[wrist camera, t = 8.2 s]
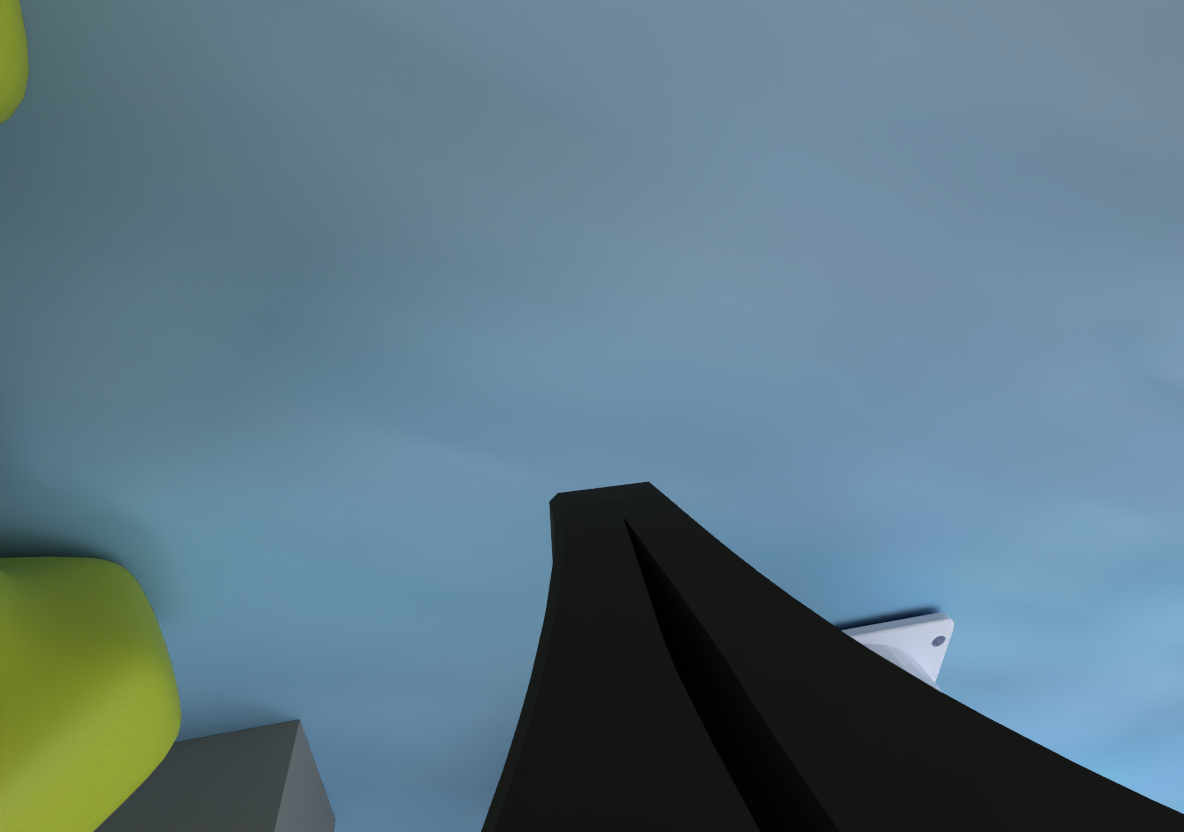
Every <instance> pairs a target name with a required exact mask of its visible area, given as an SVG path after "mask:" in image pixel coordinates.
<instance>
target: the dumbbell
mask: <svg viewBox="0 0 1184 832" xmlns="http://www.w3.org/2000/svg"><path fill="white" fill-rule="evenodd" d="M28 75H29V65H28V48H27V39H26V33H25V27H24V22H23V16H22V10H21V6H20V2H19V0H0V124H1V123H3V122H4V121H6V120H8V119H9V118H10V117H11V116H12V114H13V113H14V111H15V110H16V109H17V107H18V106H19V104H20V103H21V102H22V100H23V99H24V96H25V91H26V85H27V80H28ZM180 724H181V707H180V698H179V693H178V689H177V685H176V680H175V676H174V672H173V668H172V664H171V660H170V656H169V653H168V650H167V647H166V644H165V641H164V638H163V635H162V632H161V629H160V626H159V624H158V621H157V619H156V617H155V614H154V612H153V609H152V607H151V605H150V603H149V601H148V599H147V597H146V596H145V594H144V592H143V590H142V588H141V586H140V584H139V583H138V581H137V580H136V579H135V577H134V576H133V575H132V574H131V573H130V572H129V571H128V570H127V569H126V568H124V567H122V566H121V565H119V564H117V563H114V562H110V561H107V560H103V559H97V558H87V557H10V558H0V832H93V831H94V830H96V829H97V828H98V827H99V826H100V825H101V824H102V823H103V822H104V821H105V820H106V819H107V818H108V817H109V816H110V815H111V814H112V813H113V812H114V811H115V810H116V809H117V808H118V807H119V806H120V805H121V804H122V803H123V802H124V801H125V800H126V799H127V798H128V797H129V796H130V795H131V794H132V793H133V792H134V791H135V790H136V789H137V788H138V787H139V786H140V785H141V784H142V783H143V782H144V781H145V780H146V779H147V778H148V777H149V776H150V774H151V773H152V772H153V771H154V770H155V769H156V767H157V766H158V765H159V764H160V763H161V762H162V760H163V759H164V758H165V756H166V755H167V753H168V751H169V750H170V748H171V746H172V745H173V743H174V741H175V740H176V738H177V736H178V733H179V729H180Z"/></svg>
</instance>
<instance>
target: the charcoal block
mask: <svg viewBox="0 0 1184 832" xmlns="http://www.w3.org/2000/svg"><path fill="white" fill-rule="evenodd" d="M334 825H335V817H334V814H333V812H332V809H331V806H330V803H329V800H328V797H327V795H326V792H325V789H324V786H323V783H322V781H321V778H320V775H319V772H318V769H317V766H316V764H315V761H314V758H313V755H312V752H311V750H310V747H309V744H308V741H307V738H306V735H305V733H304V730H303V727H302V724H301V721H300V720H295V721H289V722H284V723H278V724H273V725H267V726H262V727H257V728H251V729H246V730H240V731H235V732H229V733H224V734H218V735H213V736H207V737H202V738H196V739H191V740H186V741H180V742H175V743H173V745H172V746H171V748H170V750H169V751H168V753H167V755H166V756H165V758H164V759H163V760H162V762H161V763H160V764H159V765H158V766H157V767H156V769H155V770H154V771H153V772H152V773H151V774H150V776H149V777H148V778H147V779H146V780H145V781H144V782H143V783H142V784H141V785H140V786H139V787H138V788H137V789H136V790H135V791H134V792H133V793H132V794H131V795H130V796H129V797H128V798H127V799H126V800H125V801H124V802H123V803H122V804H121V805H120V806H119V807H118V808H117V809H116V810H115V811H114V812H113V813H112V814H111V815H110V816H109V817H108V818H107V819H106V820H105V821H104V822H103V823H102V824H101V825H100V826H99V827H98V828H97V829H96V830H94V831H93V832H334Z"/></svg>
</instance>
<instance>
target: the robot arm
mask: <svg viewBox="0 0 1184 832" xmlns="http://www.w3.org/2000/svg"><path fill="white" fill-rule="evenodd" d="M549 504H550V521H551V539H552V557H553V566H552V573H551V580H550V587H549V593H548V600H547V607H546V612H545V618H544V622H543V627H542V631H541V636H540V640H539V644H538V649H537V653H536V657H535V662H534V666H533V670H532V675H531V678H530V682H529V686H528V690H527V693H526V697H525V700H524V704H523V708H522V711H521V714H520V718H519V721H518V725H517V728H516V731H515V734H514V737H513V740H512V744H511V747H510V750H509V753H508V756H507V759H506V763H505V766H504V769H503V772H502V775H501V777H500V780H499V783H498V786H497V789H496V791H495V794H494V797H493V800H492V803H491V805H490V808H489V811H488V814H487V817H486V819H485V822H484V825H483V828H482V831H481V832H1184V814H1182V813H1180V812H1178V811H1176V810H1173V809H1171V808H1169V807H1167V806H1165V805H1162V804H1160V803H1158V802H1156V801H1153V800H1151V799H1149V798H1147V797H1145V796H1143V795H1141V794H1139V793H1137V792H1135V791H1132V790H1130V789H1128V788H1126V787H1124V786H1122V785H1120V784H1118V783H1116V782H1114V781H1112V780H1110V779H1107V778H1105V777H1103V776H1101V775H1099V774H1097V773H1095V772H1093V771H1091V770H1089V769H1087V768H1085V767H1083V766H1081V765H1078V764H1076V763H1074V762H1072V761H1070V760H1069V759H1067V758H1065V757H1063V756H1061V755H1059V754H1057V753H1055V752H1053V751H1051V750H1049V749H1047V748H1045V747H1043V746H1042V745H1040V744H1038V743H1036V742H1034V741H1032V740H1030V739H1028V738H1026V737H1024V736H1022V735H1020V734H1018V733H1016V732H1015V731H1013V730H1011V729H1009V728H1007V727H1005V726H1003V725H1001V724H999V723H997V722H995V721H993V720H991V719H989V718H988V717H986V716H984V715H982V714H980V713H978V712H977V711H975V710H973V709H971V708H969V707H968V706H966V705H964V704H962V703H960V702H958V701H957V700H955V699H953V698H951V697H949V696H948V695H946V694H944V693H943V692H942V691H941V690H940V688H939V687H938V686H937V685H936V683H935V681H936V678H937V675H938V672H939V669H940V667H941V664H942V661H943V658H944V655H945V652H946V649H947V646H948V643H949V640H950V637H951V634H952V632H953V629H954V622H953V621H952V619H951V618H950V617H949V616H948V615H947V614H945V613H934V614H928V615H923V616H917V617H912V618H906V619H901V620H895V621H890V622H884V623H879V624H873V625H868V626H862V627H857V628H851V629H846V630H840V629H838V628H837V627H835V626H834V625H832V624H831V623H829V622H828V621H826V620H825V619H824V618H822V617H821V616H819V615H818V614H816V613H815V612H813V611H812V610H811V609H809V608H808V607H806V606H805V605H803V604H802V603H800V602H799V601H798V600H796V599H795V598H793V597H792V596H790V595H789V594H788V593H786V592H785V591H784V590H782V589H781V588H780V587H778V586H777V585H775V584H774V583H773V582H771V581H770V580H769V579H767V578H766V577H765V576H763V575H762V574H761V573H759V572H758V571H757V570H755V569H754V568H753V567H752V566H750V565H749V564H748V563H746V562H745V561H744V560H743V559H741V558H740V557H739V556H737V555H736V554H735V553H734V552H732V551H731V550H730V549H729V548H727V547H726V546H725V545H724V544H722V543H721V542H720V541H719V540H718V539H716V538H715V537H714V536H713V535H712V534H710V533H709V532H708V531H707V530H705V529H704V528H703V527H702V526H701V525H699V524H698V523H697V522H696V521H695V520H694V519H692V518H691V517H690V516H689V515H688V514H686V513H685V512H684V511H683V510H682V509H681V508H679V507H678V506H677V505H676V504H675V503H673V502H672V501H671V500H670V499H669V498H668V497H666V496H665V495H664V494H663V493H662V492H660V491H659V490H658V489H657V488H656V487H654V486H653V485H652V484H651V483H650V482H642V483H634V484H626V485H618V486H610V487H603V488H595V489H587V490H579V491H571V492H563V493H557V494H556V495H555V497H554V498H553V499H552V500H551V501H550V502H549Z"/></svg>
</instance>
